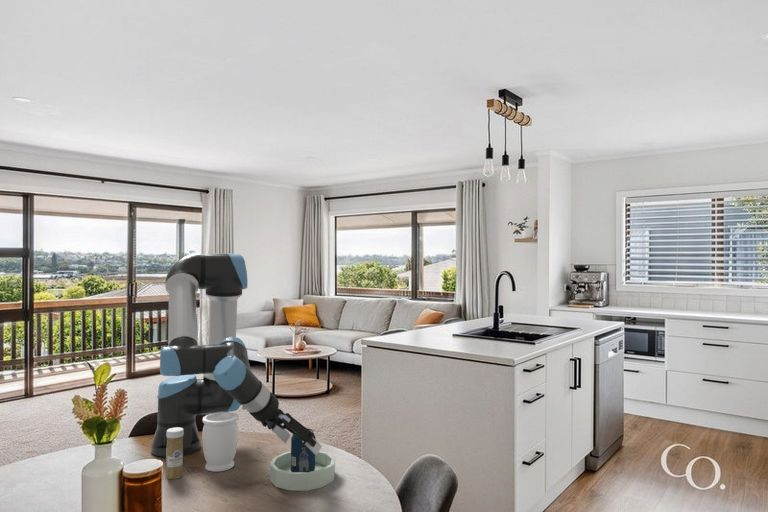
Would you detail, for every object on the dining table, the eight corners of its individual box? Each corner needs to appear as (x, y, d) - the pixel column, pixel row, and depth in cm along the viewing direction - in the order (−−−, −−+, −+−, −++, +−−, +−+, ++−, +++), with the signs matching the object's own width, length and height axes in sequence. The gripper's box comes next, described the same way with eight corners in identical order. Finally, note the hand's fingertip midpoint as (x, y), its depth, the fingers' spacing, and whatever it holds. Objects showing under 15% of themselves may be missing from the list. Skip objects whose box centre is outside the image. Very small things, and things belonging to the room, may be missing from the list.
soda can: (305, 466, 154) (306, 426, 154) (319, 473, 149) (320, 431, 149) (285, 473, 149) (286, 431, 149) (300, 480, 144) (300, 437, 144)
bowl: (262, 471, 152) (262, 456, 152) (319, 460, 161) (319, 446, 161) (283, 495, 136) (283, 478, 137) (345, 482, 146) (345, 465, 146)
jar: (226, 475, 149) (227, 423, 150) (194, 472, 151) (195, 420, 152) (244, 461, 160) (244, 412, 160) (213, 458, 162) (214, 410, 162)
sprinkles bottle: (171, 481, 145) (172, 432, 145) (162, 477, 148) (163, 429, 148) (186, 475, 149) (186, 428, 149) (177, 471, 151) (177, 425, 151)
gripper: (224, 404, 143) (268, 445, 154) (280, 424, 127) (324, 468, 138) (241, 382, 147) (282, 423, 158) (297, 398, 131) (339, 443, 142)
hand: (302, 444), depth 148 cm, fingers open, 13 cm apart
